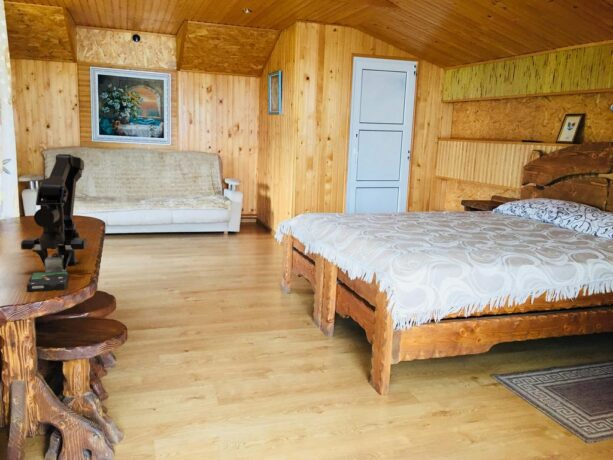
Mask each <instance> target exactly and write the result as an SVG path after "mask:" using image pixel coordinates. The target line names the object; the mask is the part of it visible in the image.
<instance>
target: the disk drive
mask: <svg viewBox="0 0 613 460" xmlns="http://www.w3.org/2000/svg"><path fill="white" fill-rule="evenodd" d="M69 276H70V271H69V270H66V271H56V272H55V271H53V272H38V271H37V272H32V274H31V276H30V278H29V279H28V281H27V284H26V292H27V293H35V292H36V293H37V292H50V291H51V292H53V290H56V291H66V290H67V288H68V287H67V286H68V282H69V278H70V277H69Z"/></svg>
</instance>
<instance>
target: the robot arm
mask: <svg viewBox="0 0 613 460" xmlns="http://www.w3.org/2000/svg"><path fill="white" fill-rule="evenodd" d="M84 170H85V162H84V159H82V158H81V157H78V156H74V155H72V154H66V153H58V154H56V155H55V162H54V165H53V167H52V169H51V173H50V175H49V177H47V178H45V179H43V180H42V182H41V183H40V185H39V186H38V189H37V195H36V201H35V206H40V207H39V208H40V209H37V210H36V211H35V213H34V215H33V221H34V222H35V223H36V225H37V226H39V227H41V228H43V229H42V234H41V235H40V237H26V238H25V239H23V240H22V241H20V242H21V243H20V249H21V250H32V252H33V253H36V254H37V255H38V256H39V258H40V260H41V262H42V264H43V266H44V267H45V259H47V257H48V255H49V254H48V253H49V252H48V250H56V253H58V255H64V270H66V271H67V267H68V266H74V265H76V264H77V263H78V262H79V259H76V250H85V249H86V248H87V247H88V239H87V238H86V237H80V234H79V231H78V230H77V226H76V224H75V222H74V219H73V218H74V207H75V197H76V187H77V182H78V181H79V180H80V179H81V178H82V175H83V171H84Z"/></svg>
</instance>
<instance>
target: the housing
mask: <svg viewBox="0 0 613 460" xmlns="http://www.w3.org/2000/svg"><path fill="white" fill-rule="evenodd" d="M44 269H45V272H53V271H55V272H56V271H67V269H66V270H64V255H58V253H57V252H54V253H52V254H49V256H48V257H47V259H45V266H44Z"/></svg>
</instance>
